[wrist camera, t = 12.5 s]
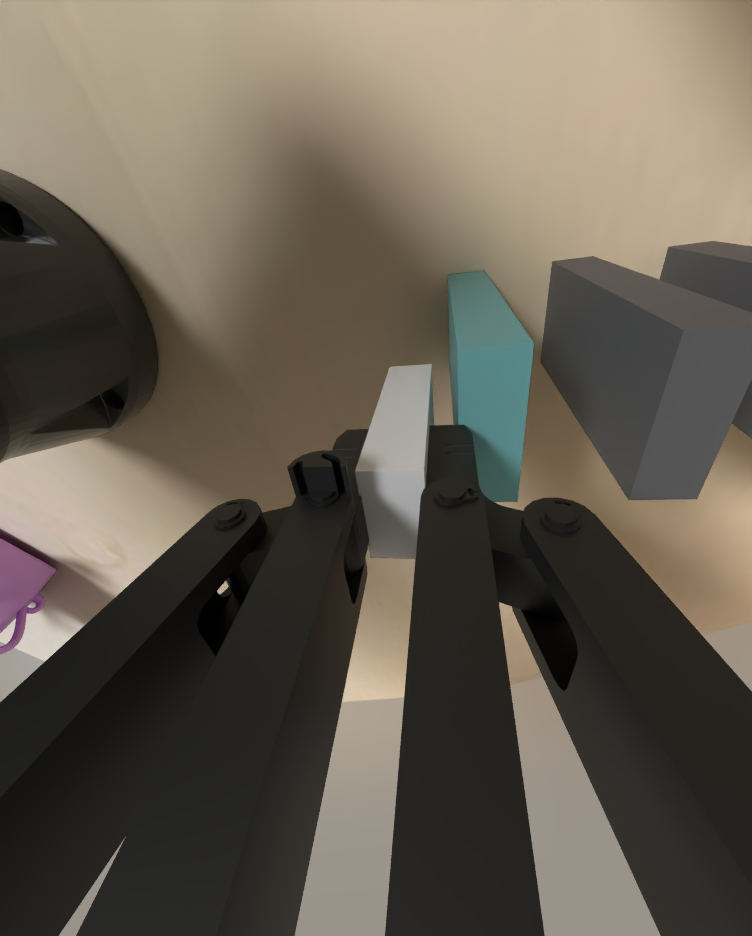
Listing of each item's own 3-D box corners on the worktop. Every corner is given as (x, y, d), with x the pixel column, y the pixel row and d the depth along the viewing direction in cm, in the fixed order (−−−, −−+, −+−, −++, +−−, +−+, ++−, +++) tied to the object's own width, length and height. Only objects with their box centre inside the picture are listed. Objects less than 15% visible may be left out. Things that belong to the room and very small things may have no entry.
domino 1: (449, 369, 22) (459, 502, 12) (447, 274, 19) (458, 350, 9) (481, 366, 21) (517, 501, 12) (484, 270, 19) (534, 343, 9)
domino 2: (540, 362, 21) (628, 499, 11) (552, 261, 18) (684, 329, 8) (575, 359, 21) (697, 499, 11) (592, 256, 18) (777, 321, 8)
